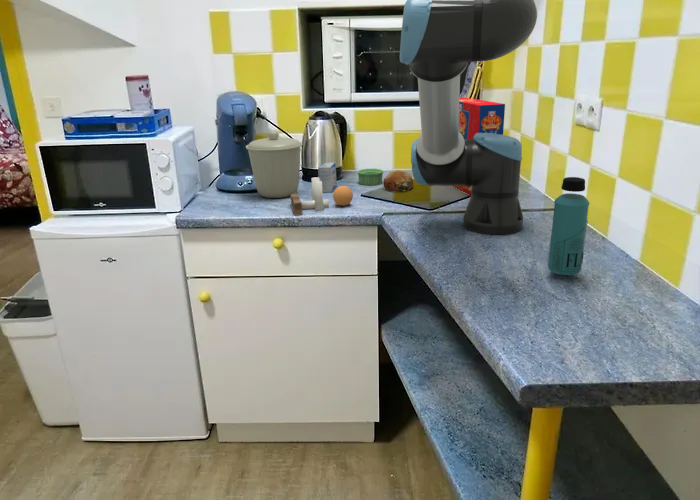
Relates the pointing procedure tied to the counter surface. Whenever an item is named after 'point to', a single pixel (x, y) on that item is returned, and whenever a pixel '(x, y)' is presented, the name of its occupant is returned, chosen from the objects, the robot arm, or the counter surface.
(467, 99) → the pasta box
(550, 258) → the beverage bottle
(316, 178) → the pin
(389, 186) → the bread roll
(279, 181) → the canister
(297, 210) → the back rail
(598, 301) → the counter surface
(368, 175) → the ramekin
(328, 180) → the medicine box
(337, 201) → the ball
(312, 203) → the pin front
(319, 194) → the pin
